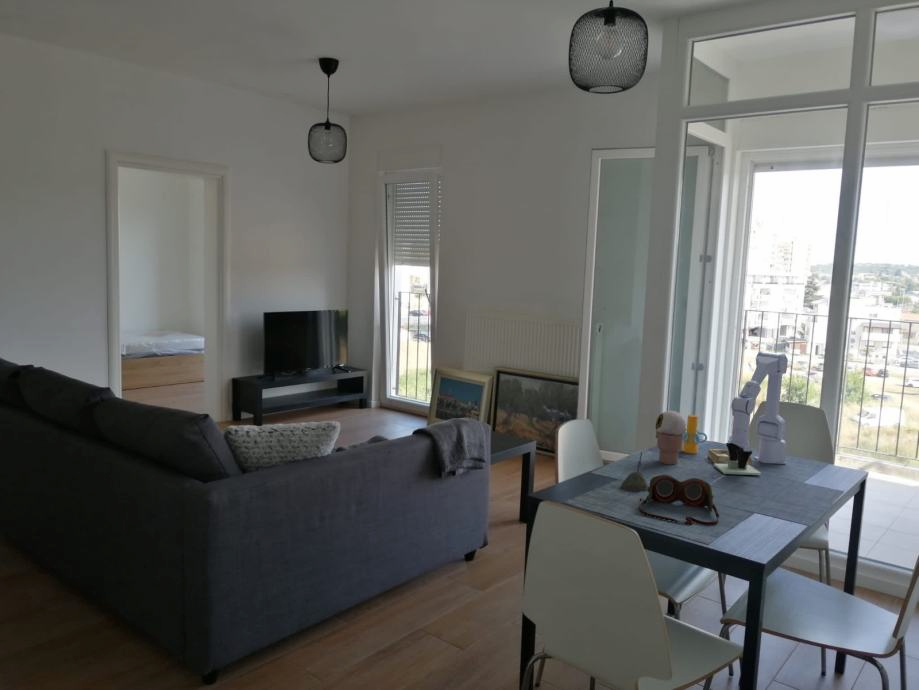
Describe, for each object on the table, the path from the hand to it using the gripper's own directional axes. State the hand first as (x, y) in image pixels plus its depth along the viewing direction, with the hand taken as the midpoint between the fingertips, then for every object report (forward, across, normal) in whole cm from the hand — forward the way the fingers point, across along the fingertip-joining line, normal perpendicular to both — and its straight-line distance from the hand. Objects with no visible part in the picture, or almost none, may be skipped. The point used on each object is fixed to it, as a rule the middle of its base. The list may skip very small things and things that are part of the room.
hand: (737, 465), depth 264 cm
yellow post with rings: (+3, -26, -9) cm, 28 cm away
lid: (+2, 0, 0) cm, 2 cm away
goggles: (+3, +46, -37) cm, 59 cm away
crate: (+2, -13, +2) cm, 13 cm away
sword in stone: (+3, +25, -44) cm, 51 cm away
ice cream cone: (+3, -9, -23) cm, 25 cm away
